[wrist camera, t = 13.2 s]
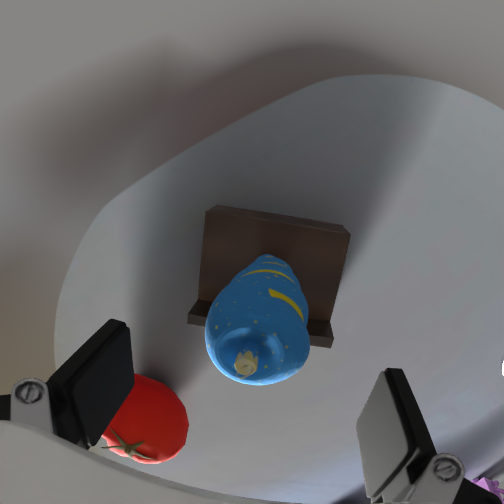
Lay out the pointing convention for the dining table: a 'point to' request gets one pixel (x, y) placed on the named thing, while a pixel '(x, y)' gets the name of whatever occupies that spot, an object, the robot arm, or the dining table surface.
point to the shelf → (281, 246)
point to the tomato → (148, 423)
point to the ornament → (259, 324)
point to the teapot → (489, 486)
